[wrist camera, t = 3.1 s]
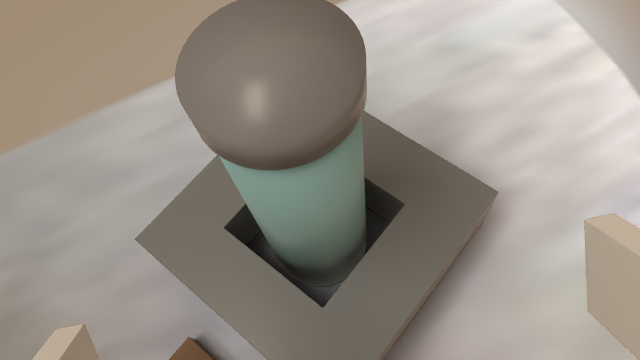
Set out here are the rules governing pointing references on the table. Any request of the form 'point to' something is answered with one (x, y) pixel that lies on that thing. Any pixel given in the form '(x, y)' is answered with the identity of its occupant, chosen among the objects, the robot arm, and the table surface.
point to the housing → (363, 282)
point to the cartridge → (286, 124)
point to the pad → (191, 351)
